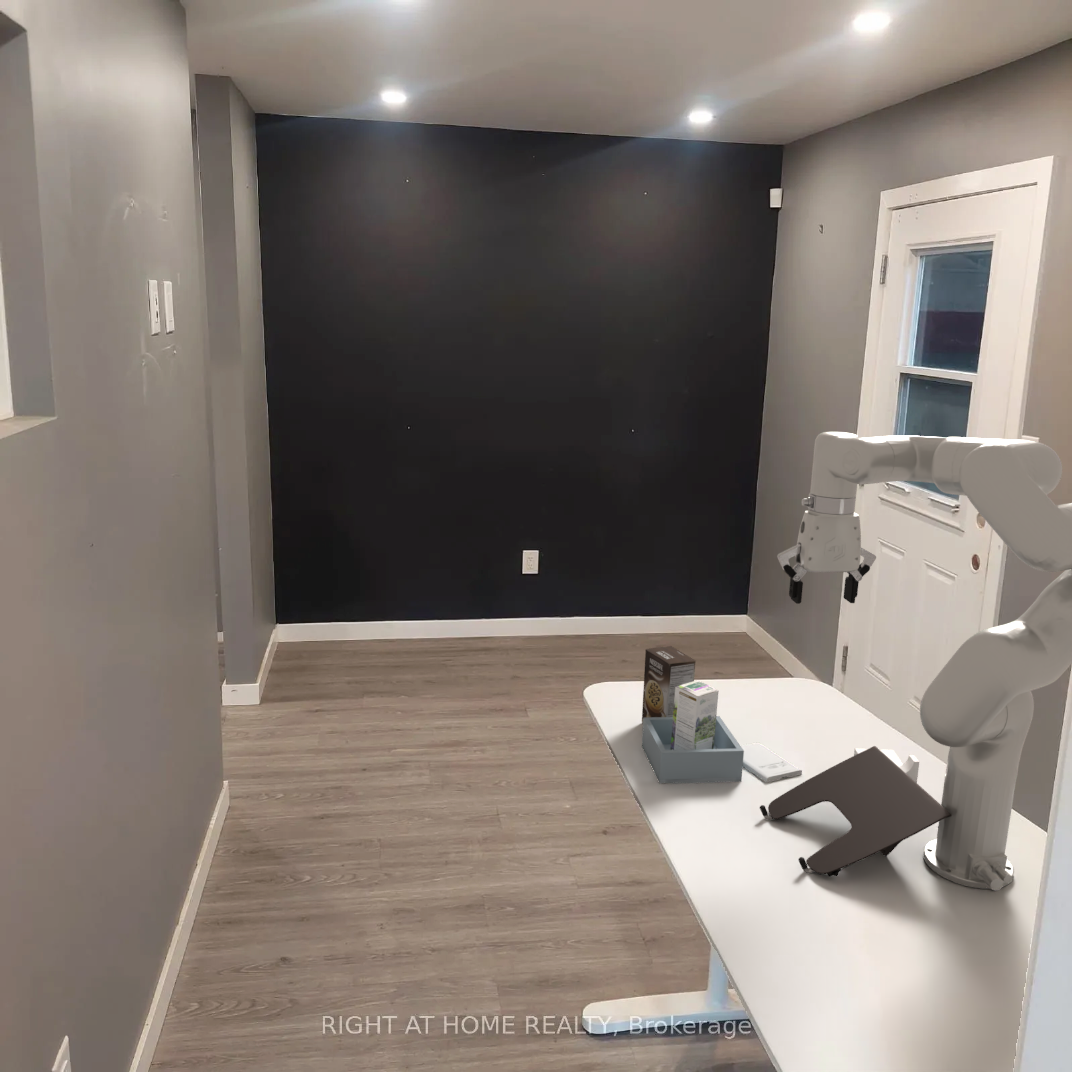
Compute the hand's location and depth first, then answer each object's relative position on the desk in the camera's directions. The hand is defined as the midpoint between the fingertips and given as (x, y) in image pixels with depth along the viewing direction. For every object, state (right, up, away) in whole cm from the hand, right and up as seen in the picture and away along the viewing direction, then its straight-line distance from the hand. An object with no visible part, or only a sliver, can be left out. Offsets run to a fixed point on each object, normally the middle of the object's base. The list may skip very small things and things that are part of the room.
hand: (822, 601), depth 165 cm
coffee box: (-24, -28, +26) cm, 45 cm away
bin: (-21, -31, +11) cm, 39 cm away
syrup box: (-21, -30, +11) cm, 39 cm away
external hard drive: (-8, -32, +12) cm, 35 cm away
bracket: (+13, -34, +6) cm, 36 cm away
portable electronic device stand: (-1, -38, -14) cm, 40 cm away
